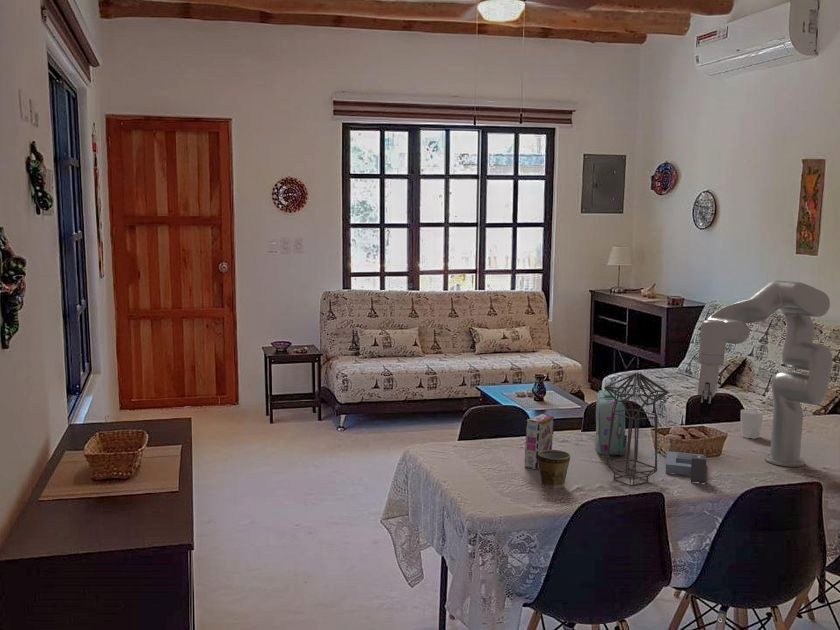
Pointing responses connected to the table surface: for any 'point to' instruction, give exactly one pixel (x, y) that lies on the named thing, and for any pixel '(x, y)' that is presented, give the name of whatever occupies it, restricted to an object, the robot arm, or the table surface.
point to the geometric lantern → (643, 379)
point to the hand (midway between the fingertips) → (706, 412)
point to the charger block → (698, 468)
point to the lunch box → (603, 425)
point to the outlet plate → (679, 462)
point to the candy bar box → (538, 438)
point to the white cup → (751, 423)
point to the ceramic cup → (553, 467)
